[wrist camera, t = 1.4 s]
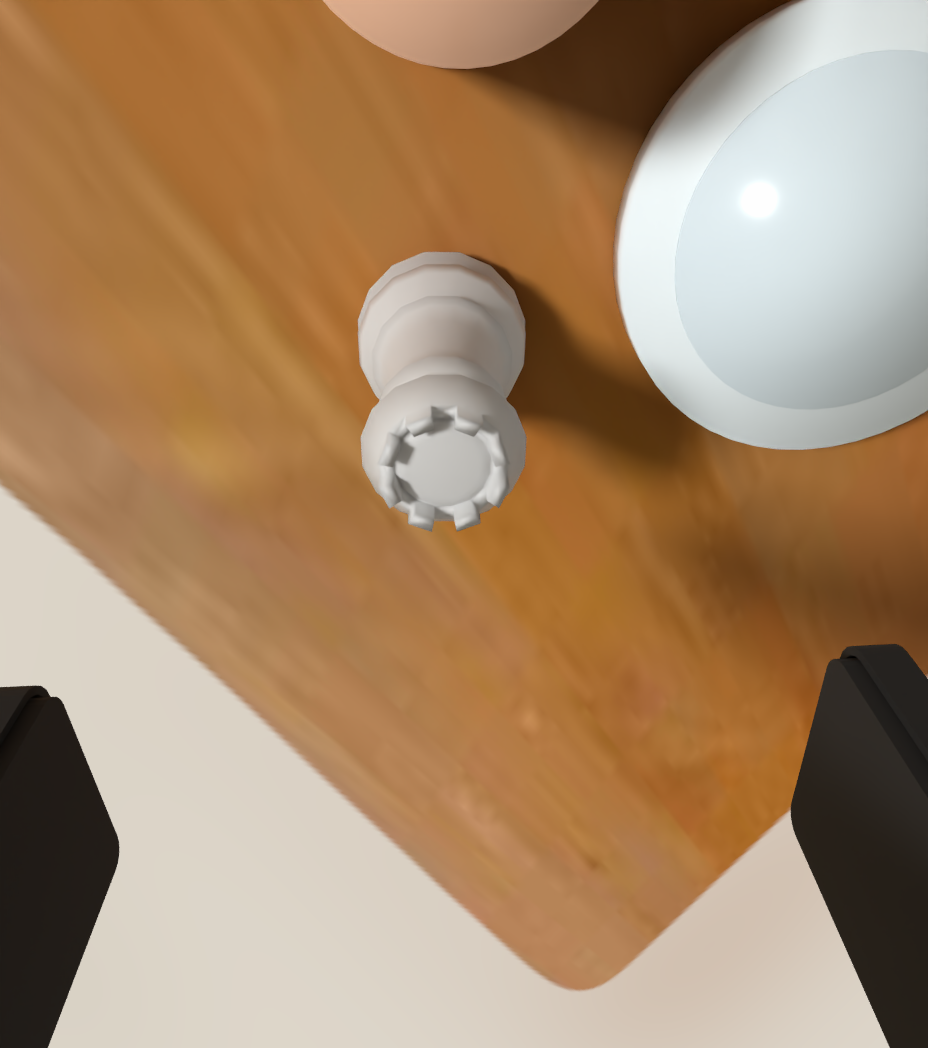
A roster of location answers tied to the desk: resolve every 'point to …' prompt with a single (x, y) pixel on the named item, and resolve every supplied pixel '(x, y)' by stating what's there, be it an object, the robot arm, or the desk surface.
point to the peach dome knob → (460, 27)
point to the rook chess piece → (442, 388)
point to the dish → (788, 229)
